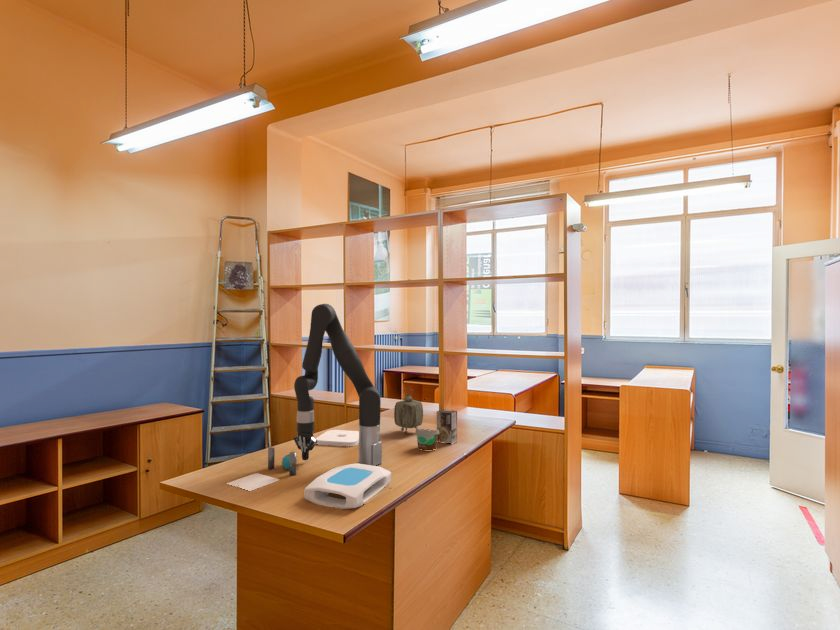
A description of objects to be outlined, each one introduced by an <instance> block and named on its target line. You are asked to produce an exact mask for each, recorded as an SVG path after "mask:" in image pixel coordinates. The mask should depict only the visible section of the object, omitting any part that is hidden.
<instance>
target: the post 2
mask: <svg viewBox="0 0 840 630" xmlns="http://www.w3.org/2000/svg"><path fill="white" fill-rule="evenodd" d="M289 455H290V466H289V469H288V470H289V471H288V472H289V476H290V477H293V476H294V477H295V476H297V463H296V460H297V451H290V452H289Z"/></svg>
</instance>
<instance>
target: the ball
mask: <svg viewBox="0 0 840 630" xmlns="http://www.w3.org/2000/svg"><path fill="white" fill-rule="evenodd" d="M297 461H298V460H297V459H296V464H297V463H298V462H297ZM281 465H282V467H283V468H284V469H285V470H289V466H290V454H287V455H285V456H284V457H283V458H282V460H281Z"/></svg>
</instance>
